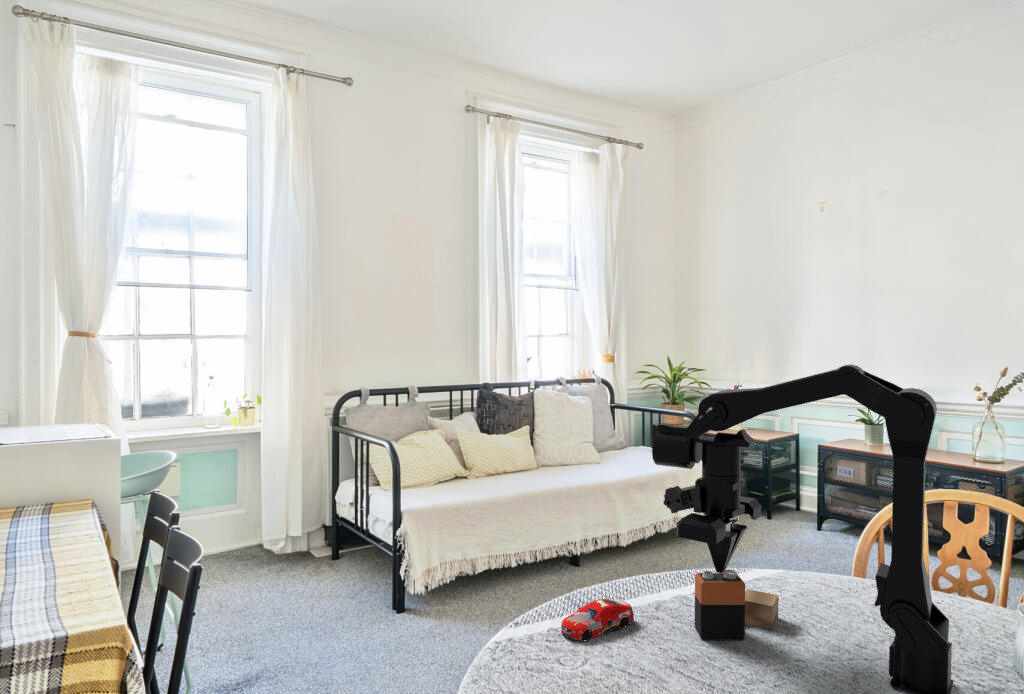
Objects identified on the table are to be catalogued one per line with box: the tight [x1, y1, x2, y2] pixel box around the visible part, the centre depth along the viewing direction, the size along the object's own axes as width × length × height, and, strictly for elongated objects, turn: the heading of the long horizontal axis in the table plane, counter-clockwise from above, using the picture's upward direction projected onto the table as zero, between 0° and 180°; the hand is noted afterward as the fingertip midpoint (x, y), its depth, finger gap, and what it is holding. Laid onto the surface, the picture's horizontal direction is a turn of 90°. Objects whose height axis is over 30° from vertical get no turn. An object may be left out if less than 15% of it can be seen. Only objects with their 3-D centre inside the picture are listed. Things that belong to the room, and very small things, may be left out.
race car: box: [560, 598, 635, 642], centre depth 109 cm, size 13×5×4 cm, turn 123°
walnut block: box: [745, 588, 780, 631], centre depth 112 cm, size 5×5×4 cm
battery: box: [694, 568, 746, 641], centre depth 107 cm, size 4×7×10 cm, turn 89°
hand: (720, 571), depth 106 cm, fingers closed, pressing on battery
